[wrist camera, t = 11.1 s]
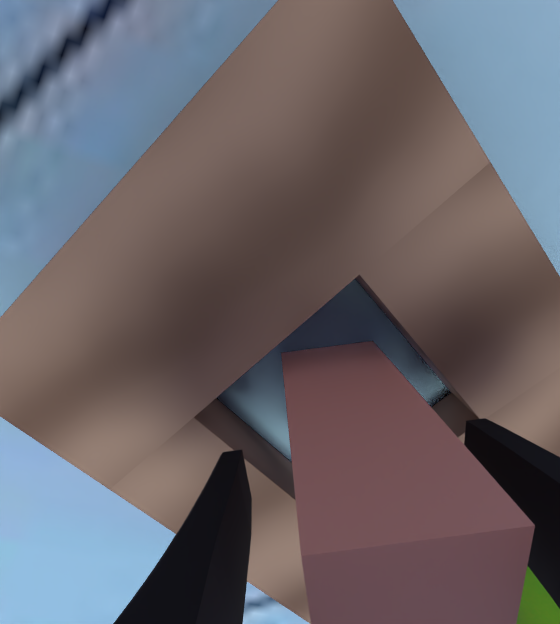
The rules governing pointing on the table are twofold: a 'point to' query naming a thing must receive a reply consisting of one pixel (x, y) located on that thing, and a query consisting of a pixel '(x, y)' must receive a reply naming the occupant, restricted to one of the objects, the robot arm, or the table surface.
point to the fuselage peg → (394, 501)
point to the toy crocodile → (536, 603)
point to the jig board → (282, 271)
